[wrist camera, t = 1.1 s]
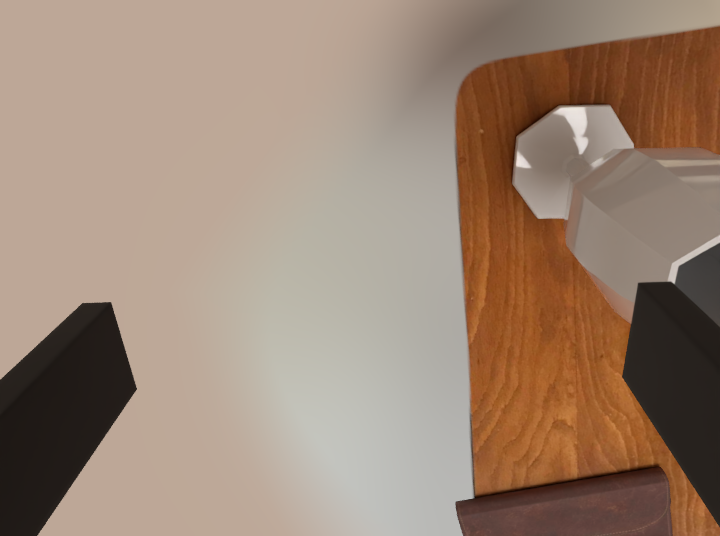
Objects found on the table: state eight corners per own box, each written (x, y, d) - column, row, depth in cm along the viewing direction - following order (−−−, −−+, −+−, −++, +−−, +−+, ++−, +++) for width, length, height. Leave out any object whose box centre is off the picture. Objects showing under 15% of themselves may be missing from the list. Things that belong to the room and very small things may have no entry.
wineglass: (639, 196, 40) (864, 355, 21) (523, 232, 42) (637, 410, 23) (620, 82, 37) (867, 148, 18) (495, 125, 39) (601, 229, 20)
